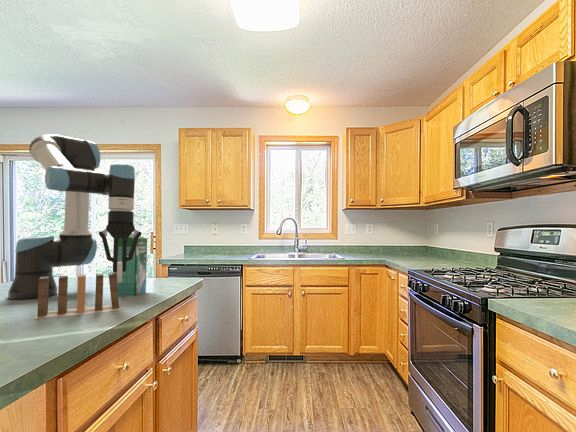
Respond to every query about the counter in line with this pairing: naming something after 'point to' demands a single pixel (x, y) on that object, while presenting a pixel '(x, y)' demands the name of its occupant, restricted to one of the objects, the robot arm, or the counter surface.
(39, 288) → the domino
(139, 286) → the milk carton
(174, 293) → the counter surface
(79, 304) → the rust tile
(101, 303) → the domino
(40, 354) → the counter surface
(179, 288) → the counter surface
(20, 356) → the counter surface
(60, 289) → the domino
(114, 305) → the domino
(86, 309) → the birch board
